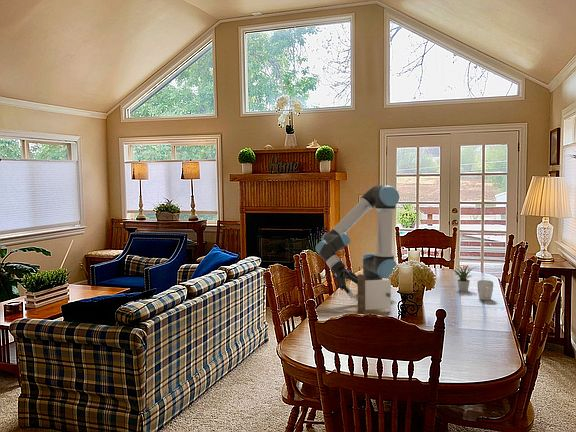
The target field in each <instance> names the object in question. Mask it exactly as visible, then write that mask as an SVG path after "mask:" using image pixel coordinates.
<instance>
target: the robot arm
mask: <svg viewBox="0 0 576 432" xmlns="http://www.w3.org/2000/svg"><path fill="white" fill-rule="evenodd" d="M399 193H400V192H399V190H397V189H396V187H394V186H392V185H389V184H385V185H380V184H379V185H377V184H376V185H374V186H372V187H371V188H369V189H368V190H367V191H366V192H365V193H364V194H363V195H361V197H360V198H359V201H358V202H357V203H356V204H355V205H354V207H352V208H351V209H350V210H349V212H348V213H347V214H346V215H345V216H344V217H343V218H342V219H340V220H339V222H338V223H337V224H336V225H334V226H333V228H332V229H331V230H329V232H325V233H324V234H323V235H322V237H321V241H318V243H317V244H316V245H315V251H316V252H317V253H318V255H319V256H320V258H321V259H322V260H323V261H324V263H326V265H327V266H328V268H329V269H330V270H331V271H332V273H333V277H334V278H335V280H336V283H337V284H338V288H339V289H341V291H343V290H344V291H345V293H346V294H347V296H349V298H350V299H351V300H352V299H353V298H354V297H355V296H356V295H355V294H354V292H353V291H352V289H350V287H349V286H347V283H346V280H350V281H351V282H353V283H354V284H356V286H357V287H358V275H356V274H355V273H354V272H353V271H351V269H350V268H347V269H346V268H345V267H346V264H345V263H343V261H342V260H341V258H340V257H339V256H338V255H337V252H339V251H341V250H342V249H344V248H345V247H347V246H348V245H349V244H350V243H351V239H350V236H349V235H348V231H350V229H351V228H353V227H354V226H355V224H356V223H357V222H359V221H360V219H361V218H362V217H363V216H364V215H366V213H367V212H368V211H369V210H373V209H374V208H375V210H376V211H377V226H376V227H377V228H376V229H377V230H376V232H377V233H376V236H377V237H376V252H375V253H374V252H373V253H364V254H363V256H362V274H363V275H365V281H366V280H383V279H385V280H389V278H388V277H389V275H390V274H391V273H392V271H393V268H394V267H395V266H396V265H397V266H398V264H397V262H396V261H395V254H393V252H392V250H393V248H392V247H393V212H394V211H395V210H396V205H398V202H399V201H400V194H399Z"/></svg>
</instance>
